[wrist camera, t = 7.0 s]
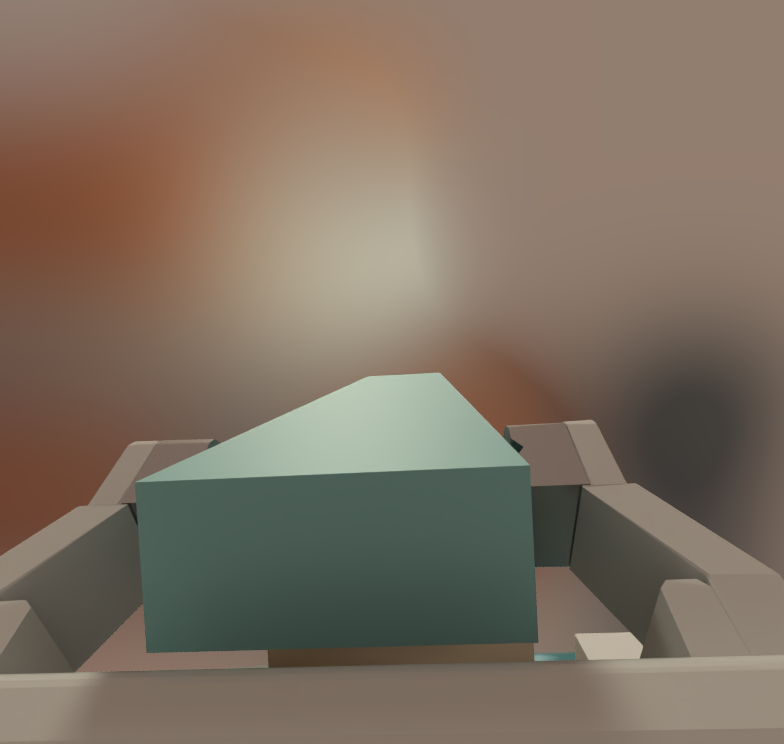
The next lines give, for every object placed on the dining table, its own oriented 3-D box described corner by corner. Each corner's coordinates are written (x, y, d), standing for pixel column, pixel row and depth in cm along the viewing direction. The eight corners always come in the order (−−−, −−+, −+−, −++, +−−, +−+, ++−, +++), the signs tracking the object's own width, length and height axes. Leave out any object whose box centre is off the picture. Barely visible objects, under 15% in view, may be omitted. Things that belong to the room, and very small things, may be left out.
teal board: (537, 643, 6) (530, 465, 6) (146, 653, 6) (134, 482, 6) (441, 404, 34) (439, 372, 34) (369, 408, 34) (367, 376, 34)
